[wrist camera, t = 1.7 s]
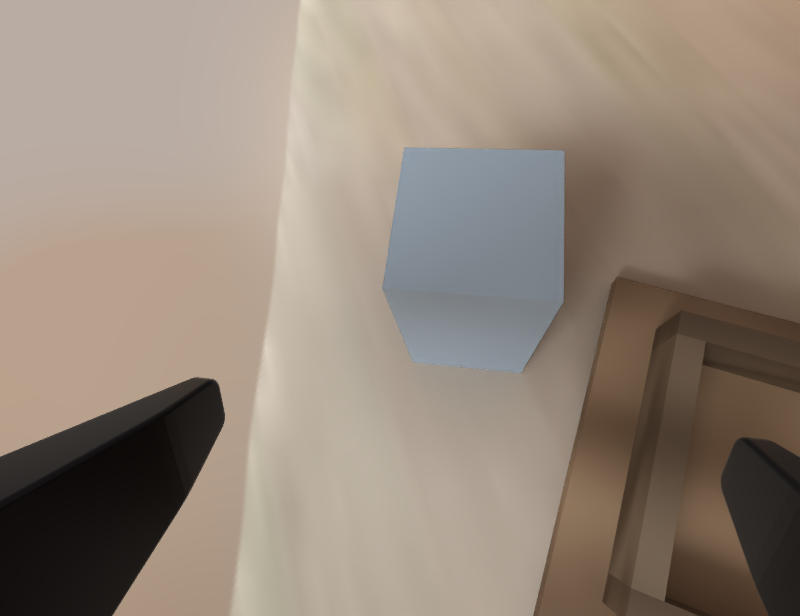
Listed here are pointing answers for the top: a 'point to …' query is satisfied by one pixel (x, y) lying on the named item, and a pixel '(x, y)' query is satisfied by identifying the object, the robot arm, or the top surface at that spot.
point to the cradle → (667, 457)
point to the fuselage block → (476, 254)
